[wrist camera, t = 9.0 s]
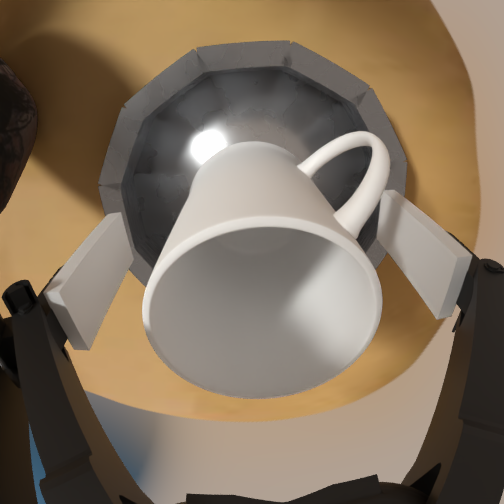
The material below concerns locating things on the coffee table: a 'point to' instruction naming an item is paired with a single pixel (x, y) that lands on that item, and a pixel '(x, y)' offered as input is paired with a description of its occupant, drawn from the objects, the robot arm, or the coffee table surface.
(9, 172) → the decorative stone
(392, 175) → the gray metal bowl
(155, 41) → the coffee table surface
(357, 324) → the mug
